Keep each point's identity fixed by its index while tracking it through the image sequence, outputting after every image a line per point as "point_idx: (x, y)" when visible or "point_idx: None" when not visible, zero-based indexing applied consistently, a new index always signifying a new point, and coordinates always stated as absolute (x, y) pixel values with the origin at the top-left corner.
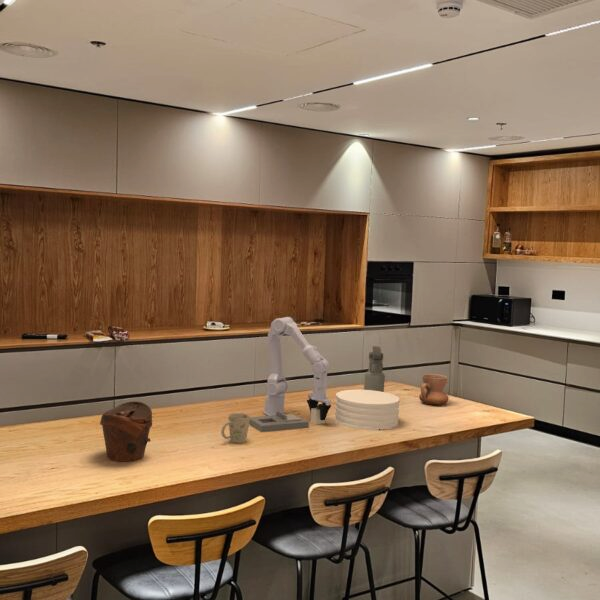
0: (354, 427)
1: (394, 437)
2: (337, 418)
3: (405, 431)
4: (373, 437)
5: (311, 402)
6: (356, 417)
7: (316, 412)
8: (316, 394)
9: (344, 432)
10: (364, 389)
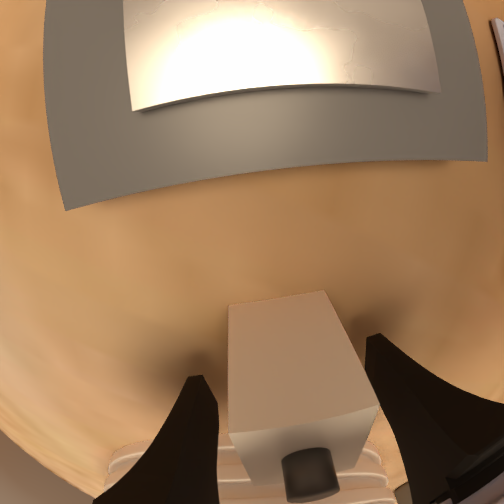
0: (123, 450)
1: (45, 456)
2: None
3: None
4: (16, 422)
5: (444, 460)
6: None
7: (231, 415)
8: None
9: (35, 383)
10: None
